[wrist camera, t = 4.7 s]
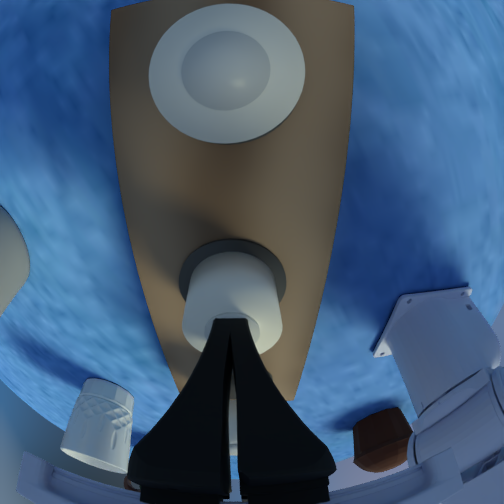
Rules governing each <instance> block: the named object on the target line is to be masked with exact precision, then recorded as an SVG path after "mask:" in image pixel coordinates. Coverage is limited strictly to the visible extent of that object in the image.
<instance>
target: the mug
mask: <svg viewBox="0 0 504 504" xmlns="http://www.w3.org/2000/svg"><path fill="white" fill-rule="evenodd" d="M29 271H30V260H29V254H28V250H27V246H26V244H25V241H24V238H23V236H22V234H21V232H20V230H19V228H18V227H17V225H16V223H15V222H14V220H13V219H12V218H11V216H10V215H9V214H8V213H7V212H6V211H5V210H4V209H3V208H2V207H1V206H0V317H1V315H2V314H3V312H4V311H5V309H6V308H7V306H8V305H9V303H10V302H11V301H12V299H13V298H14V297H15V295H16V294H17V293H18V291H19V290H20V289H21V288H22V286H23V285H24V283H25V282H26V280H27V278H28V276H29Z"/></svg>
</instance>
